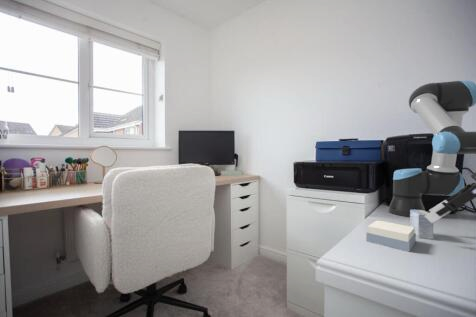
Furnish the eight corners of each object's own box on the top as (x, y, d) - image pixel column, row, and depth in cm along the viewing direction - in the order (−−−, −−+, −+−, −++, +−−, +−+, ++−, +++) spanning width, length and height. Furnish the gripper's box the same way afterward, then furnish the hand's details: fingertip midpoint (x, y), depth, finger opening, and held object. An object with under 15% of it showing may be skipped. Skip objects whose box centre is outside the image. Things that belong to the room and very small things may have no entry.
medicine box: (433, 239, 77) (434, 215, 77) (418, 238, 78) (418, 213, 78) (423, 232, 84) (424, 210, 84) (409, 231, 85) (409, 209, 85)
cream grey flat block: (376, 233, 83) (376, 219, 83) (415, 241, 74) (415, 226, 74) (366, 240, 74) (366, 226, 74) (409, 251, 66) (409, 235, 66)
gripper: (515, 189, 57) (437, 233, 68) (503, 183, 75) (442, 219, 85) (485, 168, 61) (415, 212, 72) (480, 167, 78) (424, 203, 89)
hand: (430, 216), depth 78 cm, fingers open, 13 cm apart
